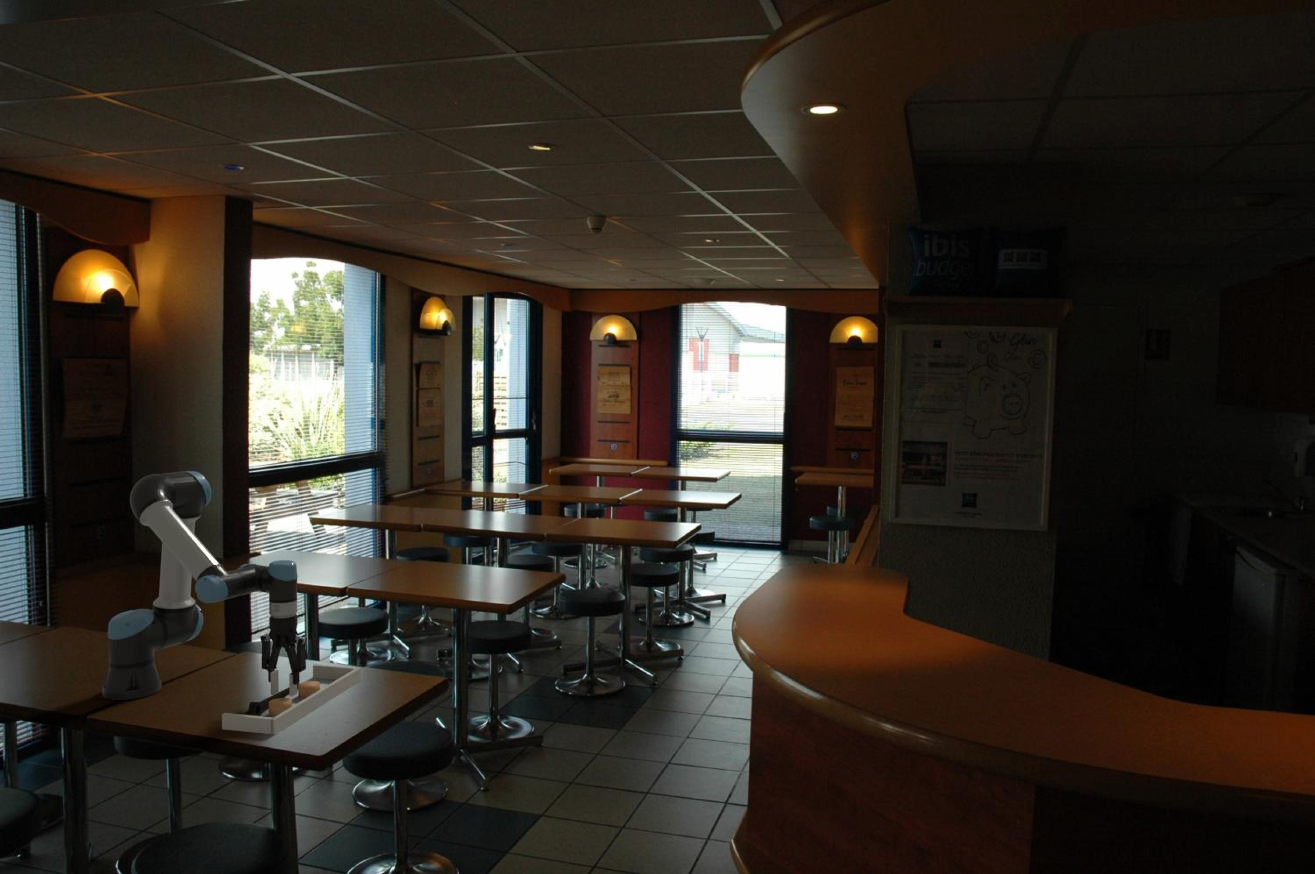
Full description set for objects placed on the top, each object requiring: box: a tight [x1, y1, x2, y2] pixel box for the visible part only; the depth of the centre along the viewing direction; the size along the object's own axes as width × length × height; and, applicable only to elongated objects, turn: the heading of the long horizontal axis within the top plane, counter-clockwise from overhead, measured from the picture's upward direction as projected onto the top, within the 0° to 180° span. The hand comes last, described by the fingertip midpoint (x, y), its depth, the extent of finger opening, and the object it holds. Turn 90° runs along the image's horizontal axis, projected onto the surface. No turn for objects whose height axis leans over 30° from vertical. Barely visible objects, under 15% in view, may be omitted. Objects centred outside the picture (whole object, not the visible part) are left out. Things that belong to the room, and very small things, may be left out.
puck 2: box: [297, 680, 321, 700], centre depth 266 cm, size 6×6×4 cm
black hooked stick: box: [244, 682, 301, 716], centre depth 258 cm, size 5×5×30 cm
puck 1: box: [268, 697, 293, 718], centre depth 252 cm, size 6×6×4 cm
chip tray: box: [221, 663, 362, 735], centre depth 260 cm, size 16×44×4 cm, turn 169°
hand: (283, 693), depth 261 cm, fingers open, 5 cm apart
